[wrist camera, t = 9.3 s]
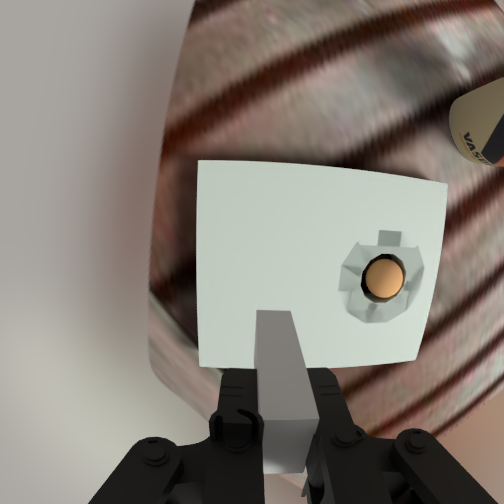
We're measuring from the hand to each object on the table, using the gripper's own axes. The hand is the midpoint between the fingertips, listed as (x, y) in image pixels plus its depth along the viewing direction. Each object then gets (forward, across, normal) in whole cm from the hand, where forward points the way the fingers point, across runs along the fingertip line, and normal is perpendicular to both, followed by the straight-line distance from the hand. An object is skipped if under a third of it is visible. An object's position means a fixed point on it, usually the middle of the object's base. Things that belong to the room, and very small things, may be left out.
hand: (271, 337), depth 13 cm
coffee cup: (+14, +23, +15) cm, 31 cm away
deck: (+14, +6, -1) cm, 15 cm away
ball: (+12, +11, -1) cm, 16 cm away
